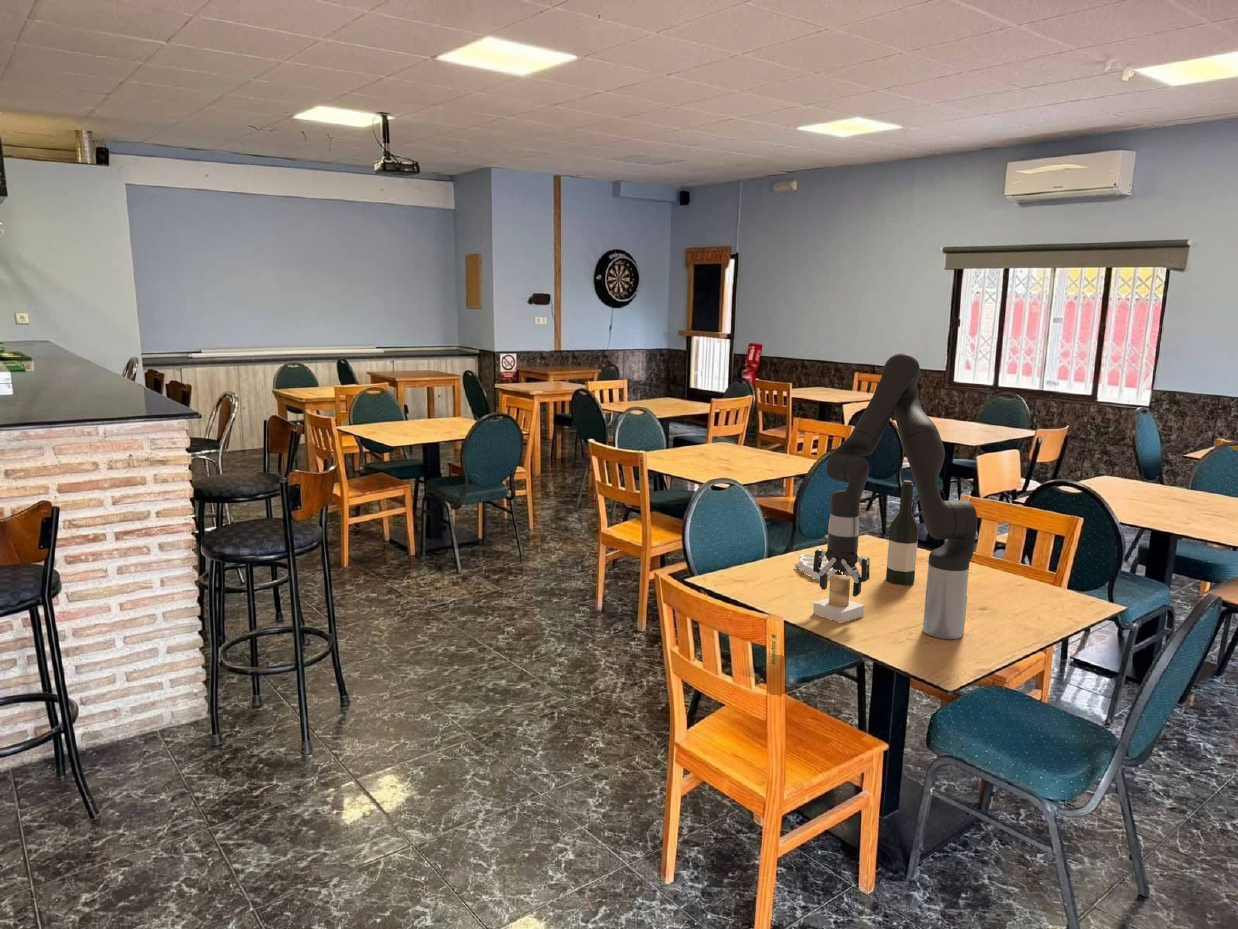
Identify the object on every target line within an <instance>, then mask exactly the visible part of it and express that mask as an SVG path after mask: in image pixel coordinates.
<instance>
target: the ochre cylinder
mask: <svg viewBox="0 0 1238 929" xmlns="http://www.w3.org/2000/svg"><path fill="white" fill-rule="evenodd" d="M850 587H851V577H849V576H843V575H841V574H838V575H832V576H831V577H830V580H829V590H828V593H829V594H828V598H829V604H830V605H832V606H835V607H847V606H848V605H849V600H850Z"/></svg>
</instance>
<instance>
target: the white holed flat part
mask: <svg viewBox="0 0 1238 929" xmlns="http://www.w3.org/2000/svg"><path fill="white" fill-rule="evenodd" d="M814 556H815V553H803V554H800V555H799V557H798V558H799V560H798V562H797V563H794V564H793V565H794V566H795V567H797V568H798V571H799V572H801V573H802V572H803V573H805V574H807V575H811V577H812V578H814V579H818V580H817V581H819V580H820V574H819V573H817V572H814V571H813V565H814ZM828 562H829V561H828V560H827V558H826V556H824V557H823V558H822V564H821V568H824V566H825V565H826V564H827V563H828ZM799 568H800V570H799ZM837 572H838V570H834V568H831V569H830V570H829V571H828V572H827V575H828V580H827V581H830V580H829V579H830V577H831V576H832V575H837ZM840 572H843V575H846V576H847V577H849V576H850V575H849V573H848V572H847V571H846V572H844V571H841V570H840ZM840 572H839V573H840ZM803 573H802V574H803ZM835 573H836V574H835ZM807 575H806V576H807ZM811 577H810V578H811ZM812 578H811V579H812ZM814 579H813V580H814Z"/></svg>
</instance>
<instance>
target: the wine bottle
mask: <svg viewBox="0 0 1238 929" xmlns="http://www.w3.org/2000/svg"><path fill="white" fill-rule="evenodd" d="M900 490H901V491H900V499H899V500H900V502H899V512H898V513H897V514H896V516H895V517H894V518H893V520H892V521H891V523H890V525H889V532H888V533H889V534H888V546H887V547H888V548H887V559H886V562H887V563H886V573H885V582H887V583H890V584H893V585H896V586H903V587H906V586H913V585H914V583H915V577H916V564H917V553H918V552H917V551H918V540H919V528H920V525H919V524H918V523H917V521H916V519H915V517H914V515H913V513H912V510H913V508H912V507H913V498H914V497H913V496H914V483H913V481H912V480H908V479H907V480H906V479H905V480H903V482H902V483H901V488H900Z"/></svg>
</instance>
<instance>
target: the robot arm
mask: <svg viewBox="0 0 1238 929" xmlns="http://www.w3.org/2000/svg"><path fill="white" fill-rule="evenodd" d="M920 367H921V366H920V363H919V361H918V359H917V358H916V357H914V356H913V355H911V354H908V353H896V354H894V355H892V356H890V357H889V358H888V359H887V361H886V362H885V363H884V365H883V369H882V374H881V377H880V379H879V381H878V384H877V386H876V388H875V391H874V394H872V397H871V398H870V401H869V402H868V404H867V406H866V407H865V410H864V411H863V412H862V415H861V416H860V417H859V419H858V421H857V422H856V424H855V426H854V428H853V429H852V431H851V433H850V435H849V436H848V437H847V439H845V440H844V441H843V442H842V443H841V444H840V445H839V446H838V447H836V449H835V450H834V451H832V453H831V454H830V456H829V457H828V458H827V461H826V466H825V472H826V475H827V477H829V479H831V480H833V481H839V482H843V483H847V486H846V489H841V490H840V489H839V490H836V491H834V492H833V493H832V495H831V498H830V515H829V520H828V527H827V530H828V531H827V545H826V546H827V550H824V549H823V548H818V549H816V550H815V551H814V554H815V556H814V565H813V571H814V572H817V573H819V574H820V581H819V588H821V591H822V590H823V591H825V590H826V589H828V581H829V580H828V575H827V572H828V571H829V570H830V569H831V568H834V570H841V571H844V572H846V571H847V572H848V573H849V576H850V578H852V580H853V586H852V587H853V588H852V597H855V598H856V597H858V596H859V595H860V594H861V591H862V583H866V582H867V581H869V580H870V564H871V563H870V561H871V560H870V557H868V556H866V557H859V556H858V551H859V549H858V548H859V535H860V534H859V532H860V504H861V503H860V502H861V499H862V495H863V491H864V489H865V486H866V483H867V481H868V478H869V474H870V465H869V462H868V460H867V459H866V458H865V457H866V456H869V455H871V454H873V453H874V451H875V450H876V448H877V446H878V444H879V443H880V440H881V439H882V438H883V435H884V433H885V431H886V428H887V427H888V424H889V422H890V421H891V420H890V419H891V417H892V415H893V416H894V418H895V421H896V422H895V423H896V428H897V432H898V434H899V437H900V441H901V445H902V448H903V450H904V454H905V456H906V461H907V463H908V466H909V467H910V471H911V474H912V477H913V480H914V483H915V487H916V492H917V496H918V501H919V505H920V510H921V513H922V514H921V515H922V518H923V522H924V526H925V528H926V530H927V532H928V534H929V536H930V537H932V538H933V539H935V540H947V541H946V542H945V543H943V544H942V545H940V546H939V547H937V548H934V549H933V550H931V551H930V553H929V555H928V561H927V562H928V565H927V578H926V588H925V599H924V601H925V602H924V611H923V613H924V614H923V622H922V631H923V633H924V634H926V635H929V636H931V637H933V638H936V639H943V640H957V639H960V638H962V637H963V636H964V633H965V624H966V614H967V613H966V612H967V605H968V596H967V593H968V584H969V573H970V572H969V570H970V563H971V560H972V559H973V556H974V551H975V550H974V549H975V543H976V537H977V530H978V514H977V510H976V507H975V505H974V504H973V503H972V502H970V501H969V500H962V499H959V500H943V498H942V496H941V493H940V489H939V485H938V483H939V482H938V481H939V477H940V474H941V471H942V468H943V465H944V463H945V462H944V461H945V458H946V451H945V450H946V449H945V446H944V443H943V441H942V436H941V435H940V431H939V430H938V428H937V426H936V424H935V423H934V422H933V421H932V419H930V417H929V416H928V415H927V414H926V413H925V411H924V409H923V407H922V405H921V401H920V398H919V394H918V381H919V378H920V373H921V368H920ZM823 557H826V558H827V560H828V561H829V562H828V563H827V564H826V565H825V566H824V568H821V564H822V558H823ZM857 563H858V564H859V566H860V567H861V568H860V569H861V570H860V571H861V572H860V571H859V568H858V567H857V565H856V564H857ZM860 573H861V574H860Z"/></svg>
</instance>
